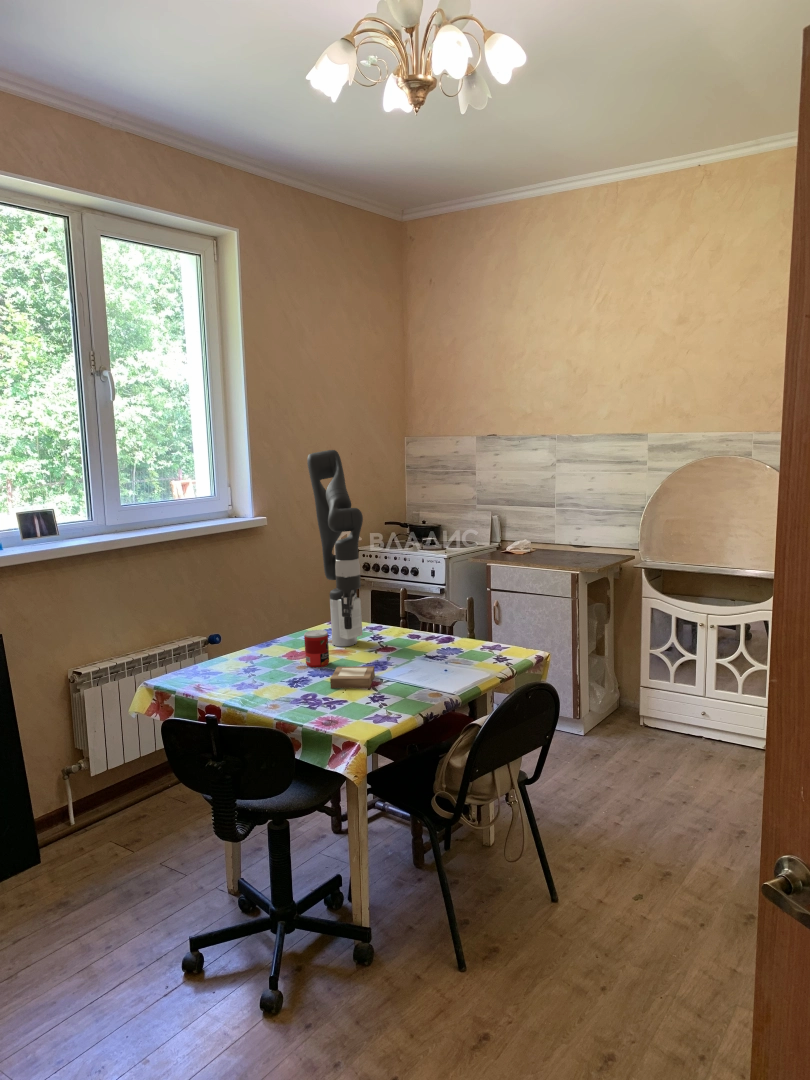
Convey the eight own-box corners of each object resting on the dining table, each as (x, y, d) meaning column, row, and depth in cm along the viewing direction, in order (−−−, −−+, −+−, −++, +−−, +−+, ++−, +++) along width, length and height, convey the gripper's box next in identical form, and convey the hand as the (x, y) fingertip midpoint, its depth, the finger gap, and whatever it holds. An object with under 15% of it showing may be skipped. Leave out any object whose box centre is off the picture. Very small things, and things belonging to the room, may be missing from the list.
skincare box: (354, 633, 234) (352, 596, 232) (362, 635, 231) (361, 597, 229) (338, 637, 230) (337, 599, 228) (347, 639, 227) (345, 601, 225)
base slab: (337, 675, 238) (337, 666, 238) (374, 675, 237) (374, 665, 237) (330, 688, 227) (330, 678, 226) (369, 688, 226) (369, 678, 225)
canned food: (325, 668, 247) (323, 636, 245) (302, 667, 248) (300, 635, 247) (332, 661, 254) (330, 630, 252) (310, 660, 256) (308, 629, 254)
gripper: (339, 569, 235) (342, 620, 237) (331, 578, 221) (334, 632, 223) (363, 568, 234) (365, 619, 236) (356, 577, 220) (358, 631, 222)
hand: (350, 625), depth 230 cm, fingers closed on skincare box, 7 cm apart
